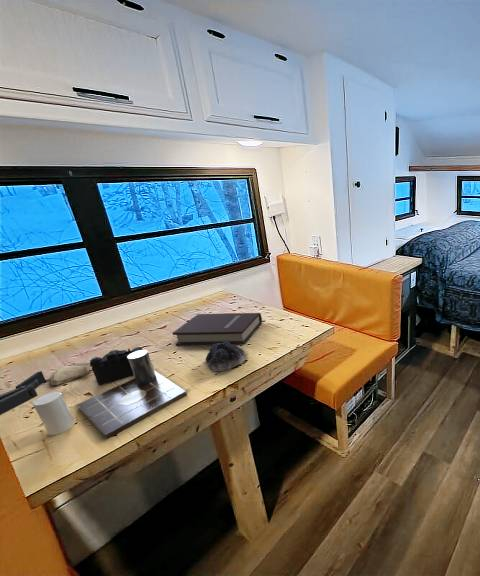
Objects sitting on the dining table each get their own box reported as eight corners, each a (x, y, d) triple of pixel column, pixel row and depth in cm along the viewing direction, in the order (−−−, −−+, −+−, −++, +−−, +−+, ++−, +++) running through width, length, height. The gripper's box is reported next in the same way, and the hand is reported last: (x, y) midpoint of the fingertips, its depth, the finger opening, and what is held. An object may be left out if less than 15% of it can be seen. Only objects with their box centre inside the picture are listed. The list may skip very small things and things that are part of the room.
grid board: (78, 408, 90) (76, 404, 90) (154, 373, 106) (153, 369, 106) (107, 439, 79) (105, 434, 79) (187, 395, 95) (186, 390, 94)
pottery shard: (52, 391, 100) (88, 375, 104) (43, 381, 99) (80, 365, 102) (66, 375, 109) (98, 361, 113) (57, 366, 108) (91, 352, 111)
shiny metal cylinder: (133, 382, 99) (124, 355, 96) (152, 373, 103) (143, 348, 100) (140, 387, 96) (131, 360, 93) (159, 378, 101) (150, 352, 97)
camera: (150, 358, 115) (142, 335, 112) (149, 372, 107) (140, 347, 103) (102, 371, 108) (92, 347, 104) (97, 387, 99) (86, 361, 96)
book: (262, 322, 142) (260, 311, 139) (244, 344, 123) (241, 331, 121) (203, 324, 142) (200, 312, 140) (176, 345, 124) (172, 332, 122)
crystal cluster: (223, 352, 119) (215, 331, 115) (254, 352, 117) (247, 330, 113) (200, 375, 107) (189, 352, 103) (234, 375, 105) (224, 352, 101)
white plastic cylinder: (45, 430, 83) (30, 400, 79) (71, 418, 87) (57, 389, 83) (51, 438, 80) (35, 407, 76) (77, 425, 84) (63, 395, 81)
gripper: (-197, 495, 48) (-60, 412, 68) (5, 446, 55) (77, 383, 75) (-228, 458, 46) (-78, 383, 66) (-14, 412, 53) (65, 356, 73)
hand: (5, 383), depth 70 cm, fingers open, 13 cm apart
